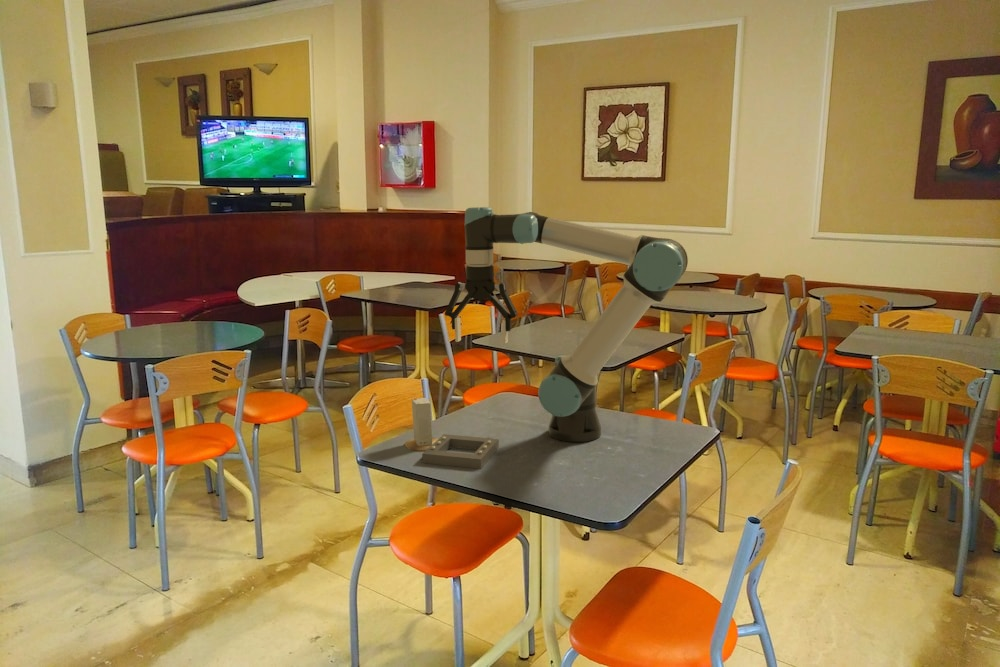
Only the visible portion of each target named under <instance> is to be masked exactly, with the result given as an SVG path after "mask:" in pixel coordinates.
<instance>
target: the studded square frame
mask: <svg viewBox="0 0 1000 667" xmlns="http://www.w3.org/2000/svg"><path fill="white" fill-rule="evenodd" d="M499 440H500V439H499V438H492V437H491V438H489V437H481V436H468V435H457V434H456V435H455V434H443V435H441V436H440V437H439V438H438V440H437V441H436V442H435V443H434V444H432V445H431V446H430V447H429V448H428V449H427V450H426V451H423V452H422V463H423V464H430V465H431V464H432V465H440V466H442V465H443V466H451V467H463V468H471V469H482V468H483V467H484V466H485V464H486V463H487V462H488V461H489V460H490V459H491V457H493V455H494V454H495V453H496V452H497V450H499V448H500V445H499V444H500V442H499ZM450 448H456V449H466V450H476V451H475V452H474V453H466V452H465V453H463V452H454V451H448V450H449V449H450Z"/></svg>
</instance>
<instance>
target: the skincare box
mask: <svg viewBox="0 0 1000 667" xmlns="http://www.w3.org/2000/svg"><path fill="white" fill-rule="evenodd" d="M411 409H412V422H413V423H412V424H413V438H414V440H415V442H416V443H417V445H418V446H428V445H432V437H433V430H432V428H433V426H432V411H431V402H430V401H429V400H428V398H426V397H421V398H412V399H411Z"/></svg>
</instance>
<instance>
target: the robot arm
mask: <svg viewBox="0 0 1000 667" xmlns="http://www.w3.org/2000/svg"><path fill="white" fill-rule="evenodd" d="M464 212H465V213H464V224H463V225H464V237H465V239H464V240H465V241H464V242H465V264H466V267H465V275H466V276H465V279H466V282H465V283H464V282H463V283H462V282H461V281H458V282H456V283H455V284H454V291H453V294H452V296H451V298H450V300H449V303H448V304H447V307H446V309H445V312H444V315H445V316H446V317H449V318H451V329H452V330H454V334H455V335H454V340H455V342H456V343H459V342H461V341H462V330H461V329H462V327H461V326H462V325H461V316H459V315H460V314H461V313H462V311H463V310H464V309H465V307H466V306H467V304H469V302H471V300H472V299H473V300H488V301H489V302H491V303H492V305H493V306H494V307H495V308H496V309H497V310H498V312H499V313H500V315H502V317H503V319H502V322H501V324H502V345H505V344H507V343H509V332H511V330H512V319H514V318H516V317H517V316H518V315H519V313H518V311H517V308H516V307H515V305H514V303H513V301H512V299H511V296H510V295H509V293H508V291H507V284H506V283H505V282H501V283H495V273H494V272H495V270H494V269H495V268H494V266H493V264H494V244H499V243H500V244H521V245H523V244H531V243H532V244H533V243H538V244H544V245H547V246H551V247H555V248H559V249H563V250H567V251H572V252H574V253H578V254H579V253H580V254H583V255H588V256H590V257H596V258H600V259H603V260H607V261H610V262H611V261H612V262H615V263H621V264H622V265H623V264H624V265H628V266H629V267H628V268H627V269H626V271H625V272H624V274H623V275H622V276H623V278H622V279H623V285H622V286H621V287H620V289H619V290H618V292H617V293H616V294H615V295H614V297H613V298H612V299H611V301H610V302H609V303H608V305H607V306H606V307H605V309H604V311H603V312H601V314H600V316H599V317H598V318H597V320H596V321H595V322H594V323H593V325H592V326H591V327H590V329H588V331H587V333H586V334H585V336H584V337H583V338H582V340H581V341H580V342H579V343H578V345H577V346H576V347H575V349H574V350H573V351H572V353H571V354H567V355H563V354H562V355H558V356H556V357H555V360H554V367H553V368H552V370H551V371H550V372H549V374H548V375H547V376H545V377H544V378H543V380H542V381H541V382H540V384H539V387H538V391H537V394H538V396H537V397H538V400H539V403H540V405H541V407H542V408H543V409H544V410H545V411H546V412H547V413H549V414H550V415H551V418H550V421H549V424H548V435H549V436H550V437H551V438H553V439H555V440H558V441H561V442H562V441H563V442H570V443H582V442H590V441H594V440H597V439H599V438H600V437H601V435H602V425H601V422H600V419H599V416H598V413H597V410H596V402H597V401H596V398H597V395H596V393H597V390H596V388H597V384H598V383H599V380H598V374H599V373H600V372H601V370H602V369H603V367H604V366H605V365H606V364H607V362H608V360H610V358H612V356H613V354H614V353H615V352H616V351H617V350H618V348H619V346H621V344H622V343H624V340H625V339H626V338H627V336H629V334H630V332H631V331H632V330H633V329H634V327H635V326H636V325H637V323H638V322H639V321H640V320H641V319H642V317H643V316H644V314H646V312H647V311H648V310H649V308H650V307H651V305H654V304H660V303H661V302H662V301H663V300H664V299H665V298H666V296H667V295H668V294H669V292H670V291H671V290H672V288H673V287H674V286H675V285H676V284H677V283H678V282H679V280H680V279H681V278H682V276H683V275H684V274H685V272H686V270H687V268H688V261H689V258H688V253H687V251H686V249H685V248H684V247H683V245H682V244H681V243H680V242H678V241H677V240H674V239H671V238H665V237H664V238H663V237H654V236H650V235H649V236H647V235H644V234H640V235H639V236H638V237H636V236H631V235H627V234H623V233H618V232H614V231H609V230H605V229H600V228H596V227H593V226H588V225H583V224H579V223H575V222H570V221H567V220H561V219H558V218H555V217H548V216H545V215H541V214H539V213H538V212H532V211H528V212H523V213H516V214H513V213H512V214H494V212H493V208H492V207H490V206H489V207H488V206H486V207H485V206H482V207H479V206H477V207H475V206H474V207H467V208H466V210H465V211H464ZM464 289H465V290H466V292H467V294H466V295H465V297H464V298H463V299H462V301H461V302H460V303H459V304H458V305H457V307H456V304H457V301H458V300H459V298H460V296H461V293H462V291H464ZM495 290H496V291H498V292H499V294H500V297H501V298H502V299H503V300H502V301H503V302H504V304H505V306H506V307H505V306H504V305H503V303H502V302H501V301H500V300H499V299H498V297H497V295H496V294H495V292H494V291H495ZM455 307H456V308H455Z"/></svg>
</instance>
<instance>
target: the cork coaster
mask: <svg viewBox="0 0 1000 667" xmlns="http://www.w3.org/2000/svg"><path fill="white" fill-rule="evenodd" d="M438 439H439V438H437V437H433V436H432V444H434V443H435V442H436V441H437V440H438ZM404 445H405V448H406V449H408V450H410V451H416V452H425V451H426V450H427V449H428V448H429V447H430V446H431V445H428V446H418V445H417V443H416V442H415V440H414V437H413V438H410V439H408V440H406V441H405V444H404Z"/></svg>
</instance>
